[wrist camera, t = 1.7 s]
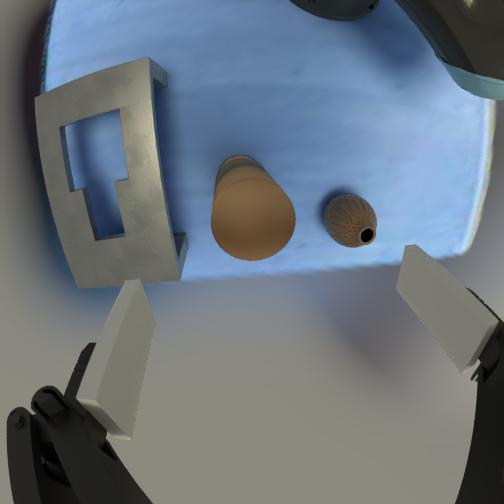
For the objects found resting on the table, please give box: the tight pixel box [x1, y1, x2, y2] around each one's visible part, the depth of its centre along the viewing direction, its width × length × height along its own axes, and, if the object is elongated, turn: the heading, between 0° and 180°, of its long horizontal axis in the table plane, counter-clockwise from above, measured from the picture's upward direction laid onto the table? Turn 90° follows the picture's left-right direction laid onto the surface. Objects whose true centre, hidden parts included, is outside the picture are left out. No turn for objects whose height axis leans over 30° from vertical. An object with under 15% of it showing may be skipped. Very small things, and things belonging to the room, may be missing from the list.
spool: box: [211, 155, 296, 261], centre depth 27 cm, size 6×6×17 cm
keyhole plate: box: [35, 57, 188, 289], centre depth 28 cm, size 24×14×9 cm, turn 4°
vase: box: [324, 194, 377, 248], centre depth 34 cm, size 7×7×9 cm
